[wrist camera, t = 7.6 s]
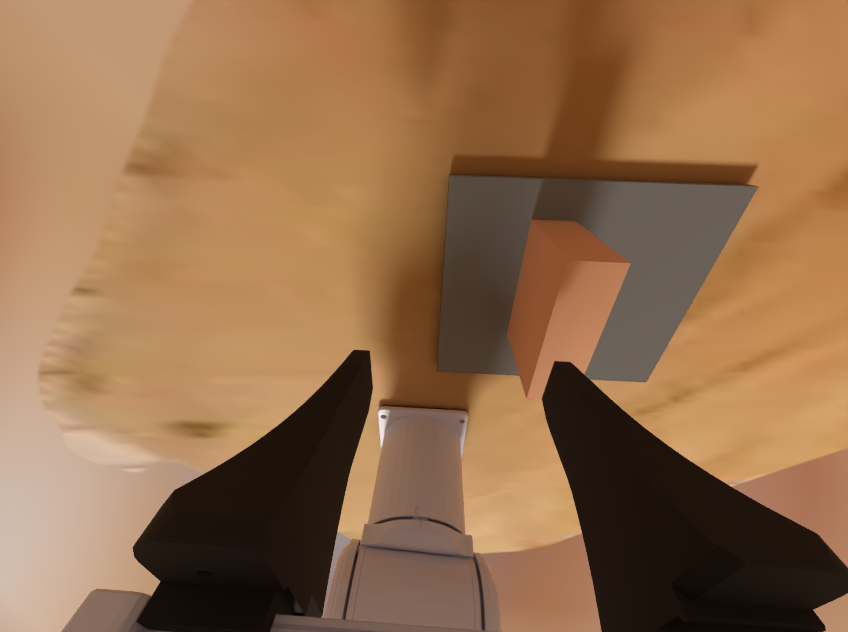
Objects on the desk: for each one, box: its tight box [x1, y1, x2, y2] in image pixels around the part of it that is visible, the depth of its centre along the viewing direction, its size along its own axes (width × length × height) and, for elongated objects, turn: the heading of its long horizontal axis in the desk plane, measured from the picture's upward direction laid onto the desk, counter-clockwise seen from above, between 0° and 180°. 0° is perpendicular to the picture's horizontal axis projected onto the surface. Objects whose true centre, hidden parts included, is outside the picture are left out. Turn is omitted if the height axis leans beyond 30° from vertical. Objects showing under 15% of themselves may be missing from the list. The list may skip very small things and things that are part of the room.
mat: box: [437, 174, 758, 382], centre depth 20 cm, size 14×16×1 cm
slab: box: [507, 220, 631, 400], centre depth 17 cm, size 8×2×6 cm, turn 179°
